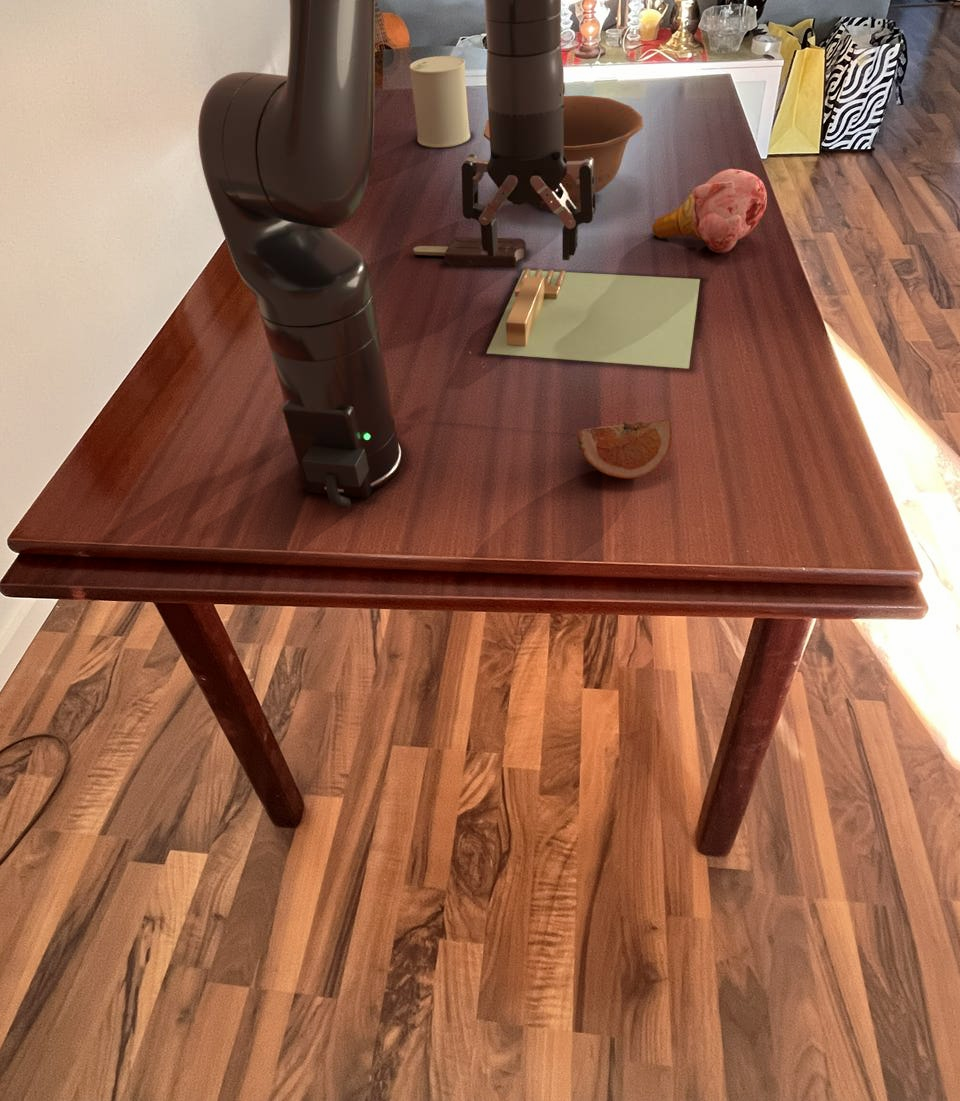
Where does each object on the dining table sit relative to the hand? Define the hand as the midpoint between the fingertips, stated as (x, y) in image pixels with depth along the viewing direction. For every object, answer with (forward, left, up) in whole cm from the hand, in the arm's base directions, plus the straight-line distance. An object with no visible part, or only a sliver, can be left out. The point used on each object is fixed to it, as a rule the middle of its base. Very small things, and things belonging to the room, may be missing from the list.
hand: (529, 255), depth 91 cm
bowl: (+33, +2, -7) cm, 34 cm away
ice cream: (+19, -19, -7) cm, 28 cm away
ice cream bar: (+13, +11, -7) cm, 18 cm away
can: (+57, +27, -7) cm, 63 cm away
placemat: (0, -8, -7) cm, 11 cm away
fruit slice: (-27, -14, -7) cm, 31 cm away
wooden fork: (0, 0, -7) cm, 7 cm away
